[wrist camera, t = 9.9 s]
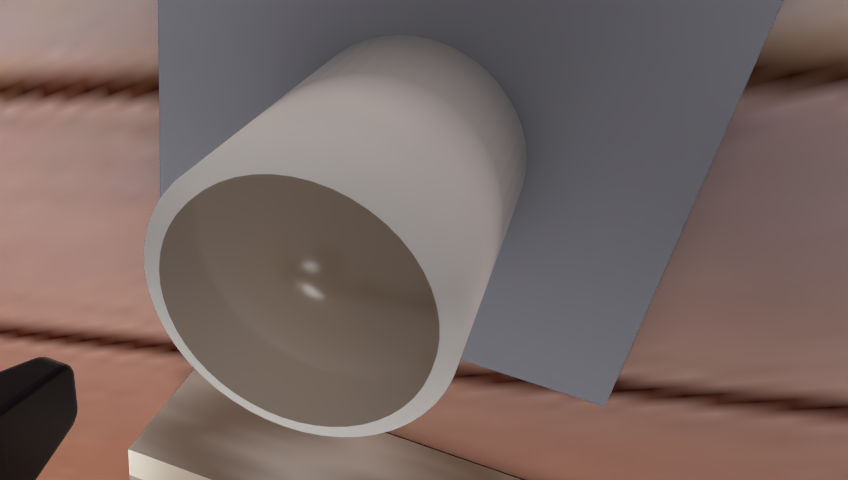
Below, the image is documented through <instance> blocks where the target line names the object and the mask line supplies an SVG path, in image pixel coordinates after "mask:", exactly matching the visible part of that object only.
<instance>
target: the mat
mask: <svg viewBox="0 0 848 480" xmlns="http://www.w3.org/2000/svg"><path fill="white" fill-rule="evenodd" d="M782 2H783V0H158V43H159V124H160V198H161V197H162V195H163V194H164V192H165V191H166V190H167V189H168V188H169V187H170V186H171V185H172V184H173V182H174V181H175V180H177V179H178V178H179V177H181V176H182V175H183V174H184V173H186V172H187V171H188V170H189V169H191V168H192V167H193V166H195V165H196V164H197V163H198V162H200V161H201V160H202V159H204V158H205V157H206V156H207V155H209V154H210V153H211V152H213V151H214V150H215V149H216V148H218V147H219V146H220V145H222V144H223V143H224V142H225V141H227V140H228V139H229V138H231V137H232V136H233V135H234V134H236V133H237V132H238V131H240V130H241V129H242V128H243V127H245V126H246V125H247V124H248V123H250V122H251V121H252V120H254V119H255V118H256V117H257V116H259V115H260V114H261V113H263V112H264V111H265V110H266V109H268V108H269V107H270V106H272V105H273V104H274V103H275V102H277V101H278V100H279V99H281V98H282V97H283V96H284V95H286V94H287V93H288V92H290V91H291V90H292V89H293V88H295V87H296V86H297V85H298V84H300V83H301V82H302V81H304V80H305V79H306V78H307V77H309V76H310V75H311V74H313V73H314V72H315V71H316V70H318V69H319V68H320V67H322V66H323V65H324V64H325V63H327V62H328V61H329V60H331V59H332V58H333V57H334V56H336V55H337V54H338V53H340V52H341V51H343V50H344V49H346V48H348V47H350V46H352V45H353V44H356V43H358V42H361V41H364V40H366V39H370V38H375V37H379V36H386V35H412V36H419V37H424V38H429V39H432V40H435V41H438V42H441V43H444V44H447V45H449V46H451V47H453V48H455V49H457V50H459V51H461V52H463V53H464V54H466V55H467V56H469V57H470V58H472V59H473V60H475V61H476V62H477V63H479V64H480V65H481V66H482V67H483V68H484V69H485V70H487V71H488V72H489V73H490V74H491V75H492V76H493V78H494V79H495V80H496V81H497V82H498V83H499V84H500V85H501V87H502V88H503V90H504V91H505V93H506V94H507V96H508V97H509V98H510V100H511V102H512V104H513V106H514V108H515V110H516V112H517V114H518V117H519V120H520V123H521V125H522V128H523V133H524V137H525V142H526V154H527V163H526V174H525V179H524V184H523V188H522V191H521V193H520V196H519V199H518V202H517V204H516V207H515V210H514V213H513V215H512V218H511V221H510V224H509V226H508V229H507V232H506V235H505V237H504V240H503V243H502V246H501V248H500V251H499V254H498V257H497V259H496V262H495V265H494V268H493V270H492V273H491V276H490V279H489V281H488V284H487V287H486V290H485V292H484V295H483V298H482V301H481V304H480V306H479V309H478V312H477V315H476V317H475V320H474V323H473V326H472V328H471V331H470V334H469V337H468V339H467V342H466V345H465V348H464V350H463V353H462V356H461V360H464V361H467V362H470V363H473V364H476V365H479V366H482V367H485V368H488V369H491V370H494V371H497V372H500V373H503V374H506V375H509V376H513V377H516V378H519V379H522V380H525V381H528V382H531V383H534V384H537V385H540V386H543V387H546V388H549V389H552V390H555V391H558V392H561V393H565V394H568V395H571V396H574V397H577V398H580V399H583V400H586V401H589V402H592V403H595V404H598V405H601V406H604V407H605V405H606V403H607V401H608V399H609V396H610V394H611V392H612V389H613V387H614V385H615V383H616V380H617V378H618V376H619V373H620V371H621V369H622V367H623V364H624V362H625V360H626V357H627V355H628V353H629V351H630V348H631V346H632V344H633V342H634V339H635V337H636V335H637V332H638V330H639V328H640V326H641V323H642V321H643V319H644V316H645V314H646V312H647V310H648V307H649V305H650V303H651V301H652V298H653V296H654V294H655V291H656V289H657V287H658V285H659V282H660V280H661V278H662V275H663V273H664V271H665V269H666V266H667V264H668V262H669V259H670V257H671V255H672V253H673V250H674V248H675V246H676V244H677V241H678V239H679V237H680V234H681V232H682V230H683V228H684V225H685V223H686V221H687V218H688V216H689V214H690V212H691V209H692V207H693V205H694V203H695V200H696V198H697V196H698V193H699V191H700V189H701V187H702V184H703V182H704V180H705V177H706V175H707V173H708V171H709V168H710V166H711V164H712V161H713V159H714V157H715V155H716V152H717V150H718V148H719V146H720V143H721V141H722V139H723V136H724V134H725V132H726V130H727V127H728V125H729V123H730V120H731V118H732V116H733V114H734V111H735V109H736V107H737V105H738V102H739V100H740V98H741V95H742V93H743V91H744V89H745V86H746V84H747V82H748V79H749V77H750V75H751V73H752V70H753V68H754V66H755V63H756V61H757V59H758V57H759V54H760V52H761V50H762V48H763V45H764V43H765V41H766V38H767V36H768V34H769V32H770V29H771V27H772V25H773V22H774V20H775V18H776V16H777V13H778V11H779V9H780V7H781V4H782Z"/></svg>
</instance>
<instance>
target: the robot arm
mask: <svg viewBox="0 0 848 480" xmlns="http://www.w3.org/2000/svg"><path fill="white" fill-rule="evenodd" d="M76 415H77V399H76V389H75V380H74V373H73V370H72V368H71V367H70V366H69V365H67V364H64V363H62V362H59V361H56V360H53V359H51V358H47V357H38V358H35V359H32V360H29V361H27V362H24V363H21V364H19V365H16V366H14V367H11V368H8V369H6V370H3V371H1V372H0V480H36V478H37V477H38V476H39V474H40V473H41V471H42V470H43V468H44V467H45V465H46V464H47V462H48V461H49V459H50V458H51V456H52V455H53V454H54V452H55V451H56V449H57V448H58V446H59V445H60V443H61V442H62V440H63V439H64V437H65V436H66V434H67V433H68V432H69V430H70V429H71V427H72V425H73V423H74V421H75V418H76Z"/></svg>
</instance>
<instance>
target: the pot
mask: <svg viewBox="0 0 848 480" xmlns="http://www.w3.org/2000/svg"><path fill="white" fill-rule="evenodd" d="M526 163H527V154H526V142H525V137H524V133H523V128H522V125H521V123H520V120H519V117H518V114H517V112H516V110H515V108H514V106H513V104H512V102H511V100H510V98H509V97H508V96H507V94H506V93H505V91H504V90H503V88H502V87H501V85H500V84H499V83H498V82H497V81H496V80H495V79H494V78H493V76H492V75H491V74H490V73H489V72H488V71H487V70H485V69H484V68H483V67H482V66H481V65H480V64H479V63H477V62H476V61H475V60H473V59H472V58H470V57H469V56H467V55H466V54H464V53H463V52H461V51H459V50H457V49H455V48H453V47H451V46H449V45H447V44H444V43H441V42H438V41H435V40H432V39H429V38H424V37H419V36H412V35H386V36H379V37H375V38H370V39H366V40H364V41H361V42H358V43H356V44H353V45H352V46H350V47H348V48H346V49H344V50H343V51H341V52H340V53H338V54H337V55H336V56H334V57H333V58H332V59H331V60H329V61H328V62H327V63H325V64H324V65H323V66H322V67H320V68H319V69H318V70H316V71H315V72H314V73H313V74H311V75H310V76H309V77H307V78H306V79H305V80H304V81H302V82H301V83H300V84H298V85H297V86H296V87H295V88H293V89H292V90H291V91H290V92H288V93H287V94H286V95H284V96H283V97H282V98H281V99H279V100H278V101H277V102H275V103H274V104H273V105H272V106H270V107H269V108H268V109H266V110H265V111H264V112H263V113H261V114H260V115H259V116H257V117H256V118H255V119H254V120H252V121H251V122H250V123H248V124H247V125H246V126H245V127H243V128H242V129H241V130H240V131H238V132H237V133H236V134H234V135H233V136H232V137H231V138H229V139H228V140H227V141H225V142H224V143H223V144H222V145H220V146H219V147H218V148H216V149H215V150H214V151H213V152H211V153H210V154H209V155H207V156H206V157H205V158H204V159H202V160H201V161H200V162H198V163H197V164H196V165H195V166H193V167H192V168H191V169H189V170H188V171H187V172H186V173H184V174H183V175H182V176H181V177H179V178H178V179H177V180H175V181H174V182H173V184H172V185H171V186H170V187H169V188H168V189H167V190H166V191H165V192H164V194H163V195H162V197H161V198H160V200H159V202H158V203H157V205H156V206H155V208H154V210H153V213H152V215H151V218H150V221H149V223H148V227H147V232H146V237H145V243H144V266H145V276H146V280H147V285H148V289H149V293H150V296H151V299H152V302H153V304H154V307H155V310H156V312H157V314H158V316H159V318H160V320H161V322H162V324H163V326H164V328H165V330H166V331H167V333H168V335H169V336H170V338H171V339H172V341H173V343H174V344H175V345H176V347H177V348H178V349H179V351H180V352H181V353H182V354H183V356H184V357H185V358H186V360H187V361H188V362H189V363H190V364H191V365H192V366H193V367H194V368H195V369H196V370H197V371H198V372H199V374H200V375H202V376H203V377H204V378H205V379H206V380H207V381H208V382H209V383H211V384H212V385H213V386H214V387H215V388H216V389H218V390H219V391H220V392H222V393H223V394H224V395H226V396H227V397H228V398H230V399H231V400H233V401H234V402H236V403H238V404H239V405H241V406H242V407H244V408H246V409H247V410H249V411H251V412H253V413H255V414H257V415H259V416H261V417H263V418H265V419H267V420H270V421H272V422H274V423H277V424H279V425H282V426H285V427H288V428H291V429H295V430H298V431H301V432H306V433H311V434H316V435H321V436H332V437H362V436H370V435H376V434H380V433H384V432H388V431H392V430H394V429H397V428H399V427H401V426H404V425H406V424H408V423H410V422H412V421H413V420H415V419H417V418H418V417H420V416H422V415H423V414H424V413H425V412H426V411H428V410H429V409H430V408H431V407H432V406H434V405H435V403H436V402H437V401H438V400H439V399H440V398H441V396H442V395H443V394H444V393H445V391H446V390H447V388H448V386H449V385H450V383H451V381H452V379H453V377H454V375H455V372H456V369H457V367H458V364H459V361H460V359H461V356H462V353H463V350H464V348H465V345H466V342H467V339H468V337H469V334H470V331H471V328H472V326H473V323H474V320H475V317H476V315H477V312H478V309H479V306H480V304H481V301H482V298H483V295H484V292H485V290H486V287H487V284H488V281H489V279H490V276H491V273H492V270H493V268H494V265H495V262H496V259H497V257H498V254H499V251H500V248H501V246H502V243H503V240H504V237H505V235H506V232H507V229H508V226H509V224H510V221H511V218H512V215H513V213H514V210H515V207H516V204H517V202H518V199H519V196H520V193H521V191H522V188H523V184H524V179H525V174H526Z"/></svg>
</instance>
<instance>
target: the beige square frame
mask: <svg viewBox="0 0 848 480" xmlns="http://www.w3.org/2000/svg"><path fill="white" fill-rule="evenodd" d="M128 455H129V475H130V480H521V479H518V478H515V477H512V476H510V475H507V474H504V473H501V472H498V471H495V470H492V469H489V468H486V467H484V466H481V465H478V464H475V463H472V462H469V461H466V460H463V459H460V458H457V457H455V456H452V455H449V454H446V453H443V452H440V451H437V450H434V449H431V448H428V447H426V446H423V445H420V444H417V443H414V442H411V441H408V440H405V439H402V438H399V437H397V436H394V435H391V434H388V433H385V432H384V433H380V434H376V435H370V436H362V437H332V436H321V435H316V434H311V433H306V432H301V431H298V430H295V429H291V428H288V427H285V426H282V425H279V424H277V423H274V422H272V421H270V420H267V419H265V418H263V417H261V416H259V415H257V414H255V413H253V412H251V411H249V410H247V409H246V408H244V407H242V406H241V405H239V404H238V403H236V402H234V401H233V400H231V399H230V398H228V397H227V396H226V395H224V394H223V393H222V392H220V391H219V390H218V389H216V388H215V387H214V386H213V385H212V384H211V383H209V382H208V381H207V380H206V379H205V378H204V377H203V376H202V375H200V374H199V372H198V371H197V370H196V369H194V370H193V371H192V372H191V374H190V375H189V376H188V377H187V378H186V380H185V381H184V382H183V383H182V385H181V386H180V387H179V388H178V389H177V391H176V392H175V393H174V394H173V395H172V397H171V398H170V399H169V400H168V402H167V403H166V404H165V405H164V406H163V408H162V409H161V410H160V411H159V412H158V414H157V415H156V416H155V417H154V419H153V420H152V421H151V422H150V423H149V425H148V426H147V427H146V428H145V429H144V431H143V432H142V433H141V434H140V436H139V437H138V438H137V439H136V440H135V442H134V443H133V444H132V445H131V446H130V448H129V449H128Z"/></svg>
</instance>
